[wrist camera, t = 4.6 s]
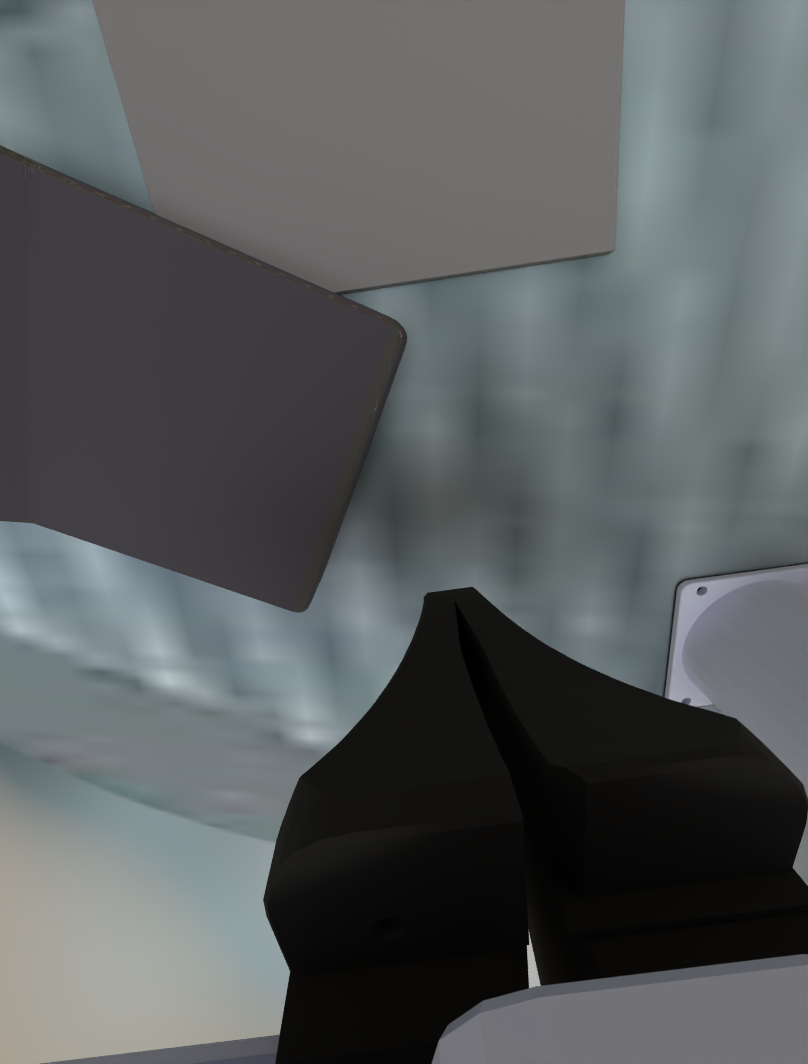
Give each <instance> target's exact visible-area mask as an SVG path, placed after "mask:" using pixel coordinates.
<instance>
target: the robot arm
mask: <svg viewBox="0 0 808 1064" xmlns="http://www.w3.org/2000/svg"><path fill="white" fill-rule="evenodd" d="M699 587H701V589H700V590H699V591H697V589H698V588H699ZM711 704H714V705H715V706H716V707H717V708H718V709H719V710H720V711H721V712H722V713H723V714H724V715H723V714H719V713H716V712H712V711H709V710H705V709H702V708H698V707H696V706H704V705H711ZM807 812H808V564H802V565H795V566H788V567H780V568H773V569H766V570H759V571H751V572H744V573H737V574H729V575H722V576H715V577H707V578H700V579H693V580H687V581H684V582H682V583H681V584H680V585H679V586H678V589H677V594H676V603H675V612H674V620H673V629H672V638H671V646H670V655H669V664H668V672H667V681H666V690H665V697H662V696H659V695H656V694H653V693H650V692H648V691H645V690H642V689H639V688H636V687H634V686H631V685H629V684H626V683H624V682H621V681H618V680H616V679H614V678H611V677H609V676H607V675H605V674H602V673H600V672H598V671H596V670H593V669H591V668H589V667H587V666H585V665H583V664H581V663H579V662H577V661H575V660H573V659H571V658H569V657H567V656H566V655H564V654H562V653H560V652H558V651H557V650H555V649H553V648H551V647H549V646H548V645H546V644H545V643H543V642H541V641H540V640H538V639H537V638H535V637H534V636H532V635H531V634H529V633H528V632H526V631H525V630H524V629H522V628H521V627H519V626H518V625H517V624H516V623H514V622H513V621H512V620H511V619H509V618H508V617H507V616H505V615H504V614H503V613H502V612H501V611H499V610H498V609H497V608H496V607H495V606H494V605H492V604H491V603H490V602H489V601H488V600H487V599H486V598H485V597H484V596H482V595H481V594H480V593H479V592H478V591H477V590H476V589H475V588H473V587H467V588H460V589H453V590H445V591H438V592H431V593H427V594H426V595H425V596H424V604H423V609H422V613H421V617H420V620H419V623H418V625H417V628H416V631H415V634H414V636H413V639H412V641H411V643H410V645H409V647H408V649H407V652H406V654H405V656H404V658H403V660H402V662H401V663H400V665H399V667H398V669H397V670H396V672H395V674H394V675H393V677H392V679H391V680H390V682H389V683H388V685H387V686H386V688H385V689H384V690H383V692H382V693H381V695H380V696H379V697H378V699H377V700H376V702H375V703H374V704H373V705H372V707H371V708H370V709H369V711H368V712H367V713H366V714H365V715H364V716H363V718H362V719H361V720H360V721H359V722H358V723H357V724H356V725H355V726H354V727H353V729H352V730H351V731H350V732H349V733H348V734H347V735H346V736H345V737H344V738H343V739H342V740H341V741H340V742H339V743H338V744H337V745H336V746H335V747H334V748H333V749H332V750H331V751H329V752H328V753H327V754H326V755H325V756H324V757H323V758H322V759H320V760H319V761H318V762H317V763H316V764H315V765H314V766H312V767H311V768H310V769H309V770H308V771H307V772H305V773H304V774H303V775H302V776H301V777H300V778H299V780H298V783H297V785H296V787H295V790H294V792H293V795H292V797H291V800H290V802H289V805H288V808H287V811H286V814H285V816H284V819H283V821H282V824H281V827H280V831H279V834H278V837H277V841H276V845H275V850H274V855H273V859H272V863H271V868H270V872H269V876H268V881H267V885H266V890H265V894H264V899H263V901H264V906H265V911H266V915H267V918H268V921H269V923H270V925H271V928H272V930H273V932H274V935H275V937H276V939H277V942H278V944H279V946H280V949H281V951H282V953H283V956H284V958H285V960H286V963H287V965H288V967H289V970H290V976H289V982H288V988H287V995H286V1000H285V1006H284V1012H283V1018H282V1024H281V1031H280V1035H274V1036H267V1037H258V1038H250V1039H241V1040H233V1041H224V1042H216V1043H208V1044H200V1045H191V1046H183V1047H176V1048H167V1049H158V1050H150V1051H142V1052H133V1053H125V1054H117V1055H109V1056H101V1057H92V1058H84V1059H76V1060H68V1061H59V1062H51V1063H42V1064H808V886H807V885H806V883H805V882H804V881H803V880H802V879H801V877H800V876H799V875H798V874H797V872H796V871H795V870H794V869H793V868H792V867H793V864H794V861H795V858H796V854H797V851H798V848H799V845H800V842H801V839H802V835H803V832H804V829H805V826H806V820H807ZM528 929H529V931H528ZM528 932H529V933H530V938H531V943H532V947H533V952H534V956H535V961H536V965H537V970H538V975H539V979H540V984H541V986H536V987H533V988H529V982H528V981H529V980H528V960H527V945H529V933H528Z"/></svg>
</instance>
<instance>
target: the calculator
mask: <svg viewBox="0 0 808 1064" xmlns="http://www.w3.org/2000/svg"><path fill="white" fill-rule="evenodd" d="M406 341H407V335H406V332H405V330H404V328H403V327H402V326H401V325H400V324H399V323H398V322H397V321H396V320H394V319H392V318H390V317H388V316H386V315H384V314H381V313H379V312H377V311H374V310H372V309H370V308H368V307H365V306H363V305H361V304H359V303H356V302H354V301H352V300H349V299H347V298H345V297H343V296H340V295H338V294H336V293H333V292H331V291H329V290H327V289H324V288H322V287H320V286H318V285H315V284H313V283H311V282H308V281H306V280H304V279H302V278H299V277H297V276H295V275H293V274H290V273H288V272H286V271H283V270H281V269H279V268H277V267H274V266H272V265H270V264H267V263H265V262H263V261H261V260H258V259H256V258H254V257H252V256H249V255H247V254H245V253H242V252H240V251H238V250H236V249H233V248H231V247H229V246H226V245H224V244H222V243H220V242H217V241H215V240H213V239H211V238H208V237H206V236H204V235H201V234H199V233H197V232H195V231H192V230H190V229H188V228H186V227H183V226H181V225H179V224H176V223H174V222H172V221H170V220H167V219H165V218H163V217H160V216H158V215H156V214H154V213H151V212H149V211H147V210H145V209H142V208H140V207H138V206H135V205H133V204H131V203H129V202H126V201H124V200H122V199H120V198H117V197H115V196H113V195H110V194H108V193H106V192H104V191H101V190H99V189H97V188H94V187H92V186H90V185H88V184H85V183H83V182H81V181H79V180H76V179H74V178H72V177H69V176H67V175H65V174H63V173H60V172H58V171H56V170H53V169H51V168H49V167H47V166H45V165H42V164H40V163H38V162H36V161H33V160H31V159H29V158H27V157H25V156H22V155H20V154H18V153H16V152H14V151H11V150H9V149H7V148H5V147H3V146H0V521H11V522H25V523H34V524H37V525H40V526H43V527H46V528H49V529H52V530H55V531H58V532H61V533H64V534H67V535H70V536H73V537H76V538H78V539H81V540H84V541H87V542H90V543H93V544H96V545H99V546H102V547H105V548H108V549H111V550H114V551H117V552H120V553H122V554H125V555H128V556H131V557H134V558H137V559H140V560H143V561H146V562H149V563H152V564H155V565H158V566H161V567H164V568H166V569H169V570H172V571H175V572H178V573H181V574H184V575H187V576H190V577H193V578H196V579H199V580H202V581H205V582H208V583H210V584H213V585H216V586H219V587H222V588H225V589H228V590H231V591H234V592H237V593H240V594H243V595H246V596H249V597H252V598H255V599H257V600H260V601H263V602H266V603H269V604H272V605H275V606H278V607H281V608H284V609H287V610H290V611H293V612H303V611H305V610H306V609H307V608H308V607H309V605H310V603H311V601H312V598H313V596H314V594H315V592H316V589H317V587H318V585H319V583H320V580H321V578H322V576H323V573H324V571H325V568H326V565H327V563H328V560H329V557H330V554H331V552H332V549H333V546H334V543H335V540H336V538H337V535H338V532H339V529H340V527H341V524H342V521H343V518H344V515H345V513H346V510H347V507H348V504H349V502H350V499H351V496H352V493H353V490H354V488H355V485H356V482H357V479H358V476H359V474H360V471H361V468H362V465H363V463H364V460H365V457H366V454H367V451H368V449H369V446H370V443H371V440H372V438H373V435H374V432H375V429H376V426H377V424H378V421H379V418H380V415H381V413H382V410H383V407H384V404H385V401H386V399H387V396H388V393H389V390H390V388H391V385H392V382H393V379H394V376H395V374H396V371H397V368H398V365H399V363H400V360H401V357H402V354H403V351H404V349H405V345H406Z"/></svg>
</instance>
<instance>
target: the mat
mask: <svg viewBox="0 0 808 1064" xmlns="http://www.w3.org/2000/svg"><path fill="white" fill-rule="evenodd" d="M92 1H93V5H94V8H95V12H96V15H97V19H98V22H99V25H100V29H101V32H102V36H103V39H104V42H105V46H106V49H107V53H108V56H109V60H110V63H111V66H112V70H113V73H114V77H115V80H116V83H117V87H118V90H119V94H120V97H121V101H122V104H123V107H124V111H125V114H126V118H127V121H128V124H129V128H130V131H131V135H132V138H133V142H134V145H135V148H136V152H137V155H138V159H139V162H140V165H141V169H142V172H143V176H144V179H145V183H146V186H147V189H148V193H149V196H150V200H151V203H152V206H153V210H154V213H155V214H156V215H158V216H160V217H163V218H165V219H167V220H170V221H172V222H174V223H176V224H179V225H181V226H183V227H186V228H188V229H190V230H192V231H195V232H197V233H199V234H201V235H204V236H206V237H208V238H211V239H213V240H215V241H217V242H220V243H222V244H224V245H226V246H229V247H231V248H233V249H236V250H238V251H240V252H242V253H245V254H247V255H249V256H252V257H254V258H256V259H258V260H261V261H263V262H265V263H267V264H270V265H272V266H274V267H277V268H279V269H281V270H283V271H286V272H288V273H290V274H293V275H295V276H297V277H299V278H302V279H304V280H306V281H308V282H311V283H313V284H315V285H318V286H320V287H322V288H324V289H327V290H329V291H331V292H333V293H336V294H338V295H339V294H345V293H352V292H359V291H365V290H372V289H379V288H385V287H392V286H399V285H405V284H412V283H419V282H425V281H432V280H439V279H445V278H452V277H459V276H465V275H472V274H479V273H485V272H492V271H499V270H505V269H512V268H519V267H525V266H532V265H539V264H545V263H552V262H559V261H565V260H572V259H579V258H585V257H592V256H598V255H605V254H609V253H611V252H613V251H615V238H616V213H617V188H618V164H619V139H620V114H621V89H622V65H623V40H624V15H625V0H92Z"/></svg>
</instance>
